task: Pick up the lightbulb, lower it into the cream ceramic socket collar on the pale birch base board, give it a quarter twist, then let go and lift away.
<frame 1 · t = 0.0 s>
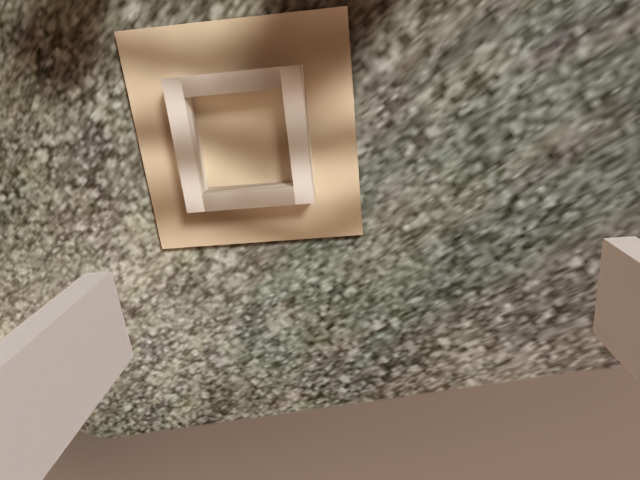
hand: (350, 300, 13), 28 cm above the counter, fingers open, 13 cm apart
socket base: (247, 138, 39), on the counter
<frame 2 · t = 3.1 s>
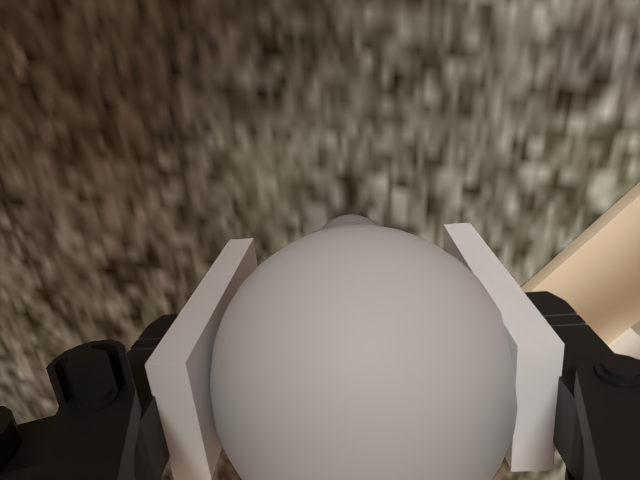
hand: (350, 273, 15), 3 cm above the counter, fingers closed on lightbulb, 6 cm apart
lightbulb: (350, 238, 18), on the counter, touching gripper
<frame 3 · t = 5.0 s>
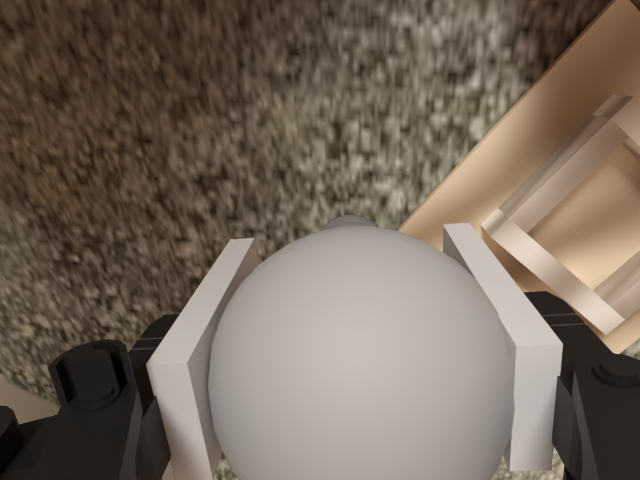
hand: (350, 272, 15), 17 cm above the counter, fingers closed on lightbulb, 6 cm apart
socket base: (595, 212, 31), on the counter
lightbulb: (349, 239, 18), point 14 cm above the counter, touching gripper
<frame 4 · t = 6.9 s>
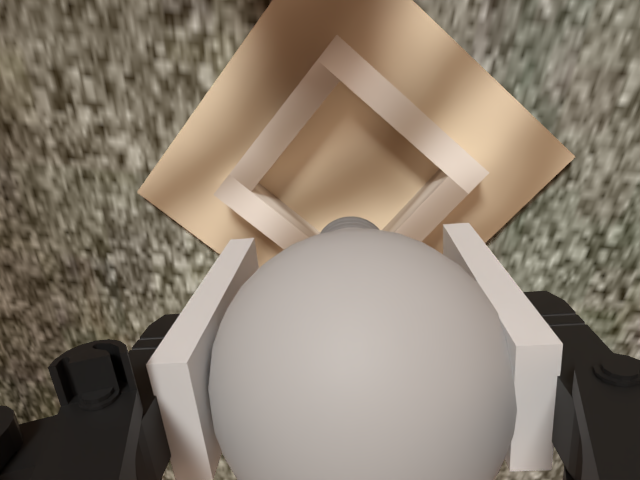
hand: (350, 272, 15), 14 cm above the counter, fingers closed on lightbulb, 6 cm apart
socket base: (347, 172, 28), on the counter
lightbulb: (350, 240, 18), point 11 cm above the counter, touching gripper
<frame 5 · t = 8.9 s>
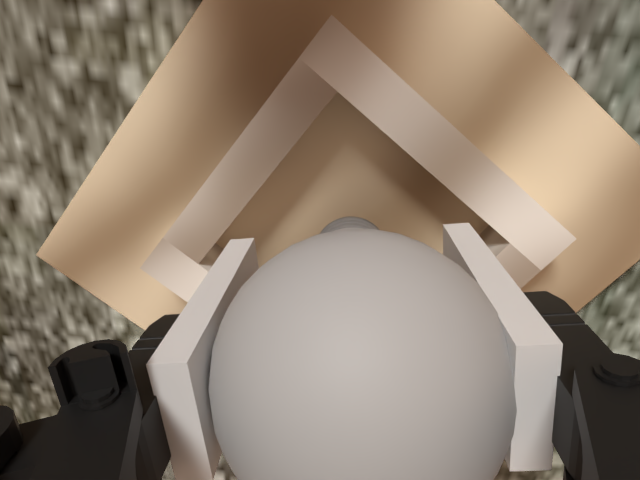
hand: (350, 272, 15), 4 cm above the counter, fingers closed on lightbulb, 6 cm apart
socket base: (349, 227, 19), on the counter
lightbulb: (350, 240, 18), point 1 cm above the counter, touching gripper
when the fingers open (4 cm above the counter, at t = 10.5 s): lightbulb stays where it is, resting on socket base.
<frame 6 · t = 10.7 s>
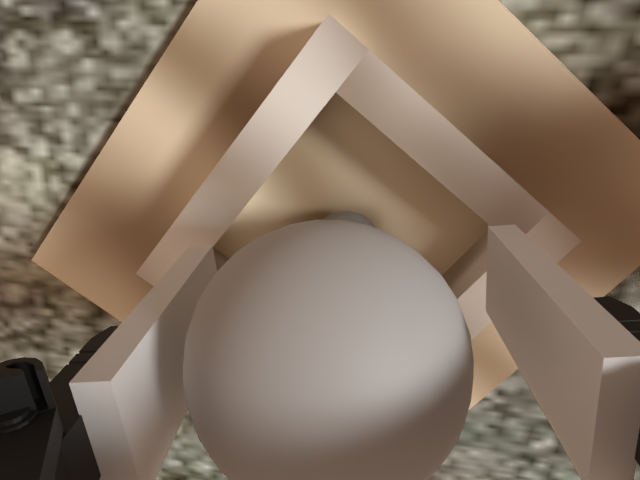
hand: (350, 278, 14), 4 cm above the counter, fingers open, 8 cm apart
socket base: (349, 230, 18), on the counter
lightbulb: (347, 235, 18), resting on socket base
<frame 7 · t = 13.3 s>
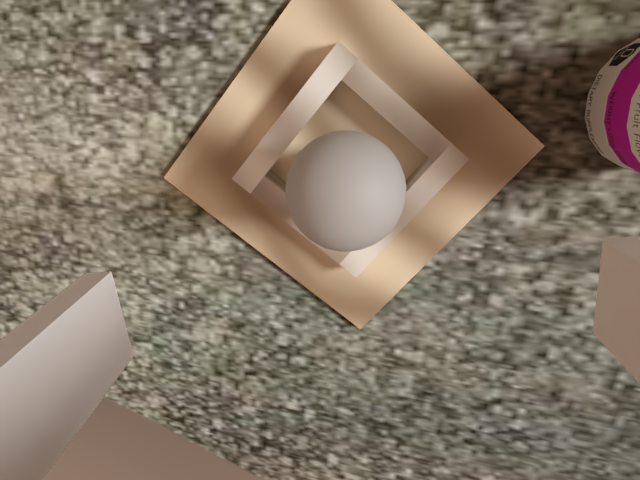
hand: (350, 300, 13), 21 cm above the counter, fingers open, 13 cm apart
socket base: (347, 160, 32), on the counter
lightbulb: (346, 162, 32), resting on socket base
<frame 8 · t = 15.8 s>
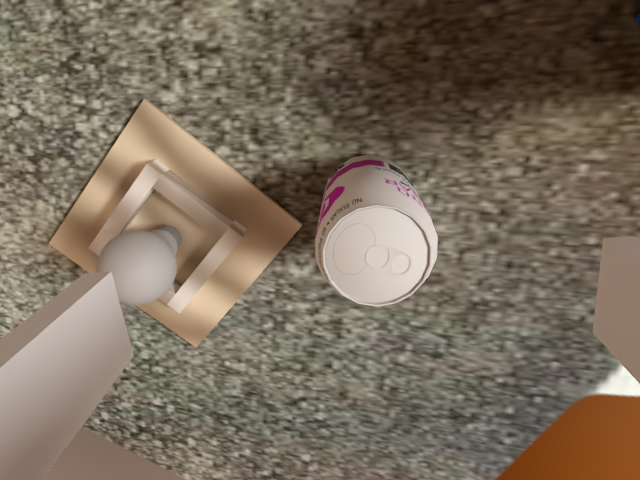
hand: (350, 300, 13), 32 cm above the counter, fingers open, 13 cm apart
socket base: (174, 232, 47), on the counter
lightbulb: (172, 234, 46), resting on socket base
supplement can: (367, 196, 45), on the counter
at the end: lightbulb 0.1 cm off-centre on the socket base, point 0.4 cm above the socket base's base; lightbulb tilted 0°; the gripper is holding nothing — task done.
